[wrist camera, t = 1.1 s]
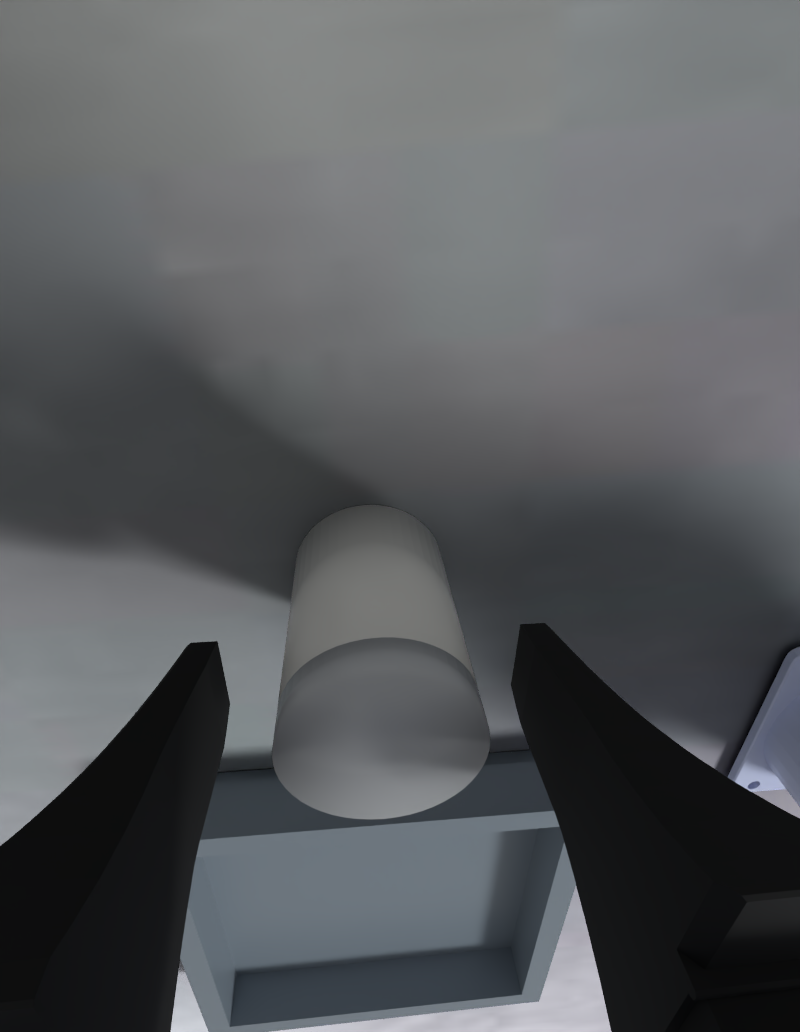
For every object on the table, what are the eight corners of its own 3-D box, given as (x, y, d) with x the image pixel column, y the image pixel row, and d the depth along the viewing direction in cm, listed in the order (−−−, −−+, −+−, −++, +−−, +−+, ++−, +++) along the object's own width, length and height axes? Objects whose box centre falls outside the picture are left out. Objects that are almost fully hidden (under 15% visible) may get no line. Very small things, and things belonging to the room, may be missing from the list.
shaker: (444, 502, 16) (500, 667, 10) (437, 620, 18) (480, 811, 12) (289, 507, 16) (259, 682, 10) (301, 627, 18) (282, 826, 12)
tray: (575, 747, 22) (600, 807, 20) (524, 943, 30) (538, 1001, 28) (157, 777, 21) (135, 845, 18) (221, 974, 28) (211, 1038, 26)
